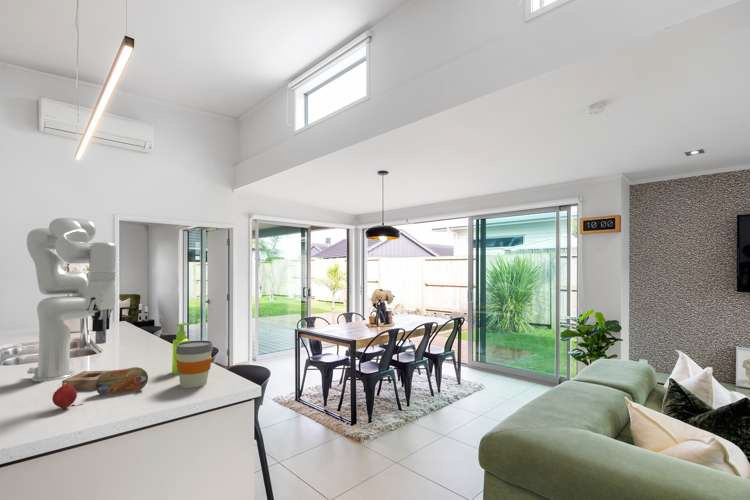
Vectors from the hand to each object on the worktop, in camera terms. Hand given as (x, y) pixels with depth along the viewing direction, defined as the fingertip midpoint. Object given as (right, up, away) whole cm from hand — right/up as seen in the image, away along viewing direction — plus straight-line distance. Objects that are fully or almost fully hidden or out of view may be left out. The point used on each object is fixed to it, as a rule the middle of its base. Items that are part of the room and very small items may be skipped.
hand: (100, 329), depth 132 cm
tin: (+8, -22, -1) cm, 23 cm away
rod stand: (-8, -22, +6) cm, 24 cm away
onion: (0, -21, -15) cm, 26 cm away
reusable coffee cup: (+28, -23, +10) cm, 37 cm away
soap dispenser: (+14, -23, +26) cm, 38 cm away
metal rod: (0, -5, 0) cm, 5 cm away
